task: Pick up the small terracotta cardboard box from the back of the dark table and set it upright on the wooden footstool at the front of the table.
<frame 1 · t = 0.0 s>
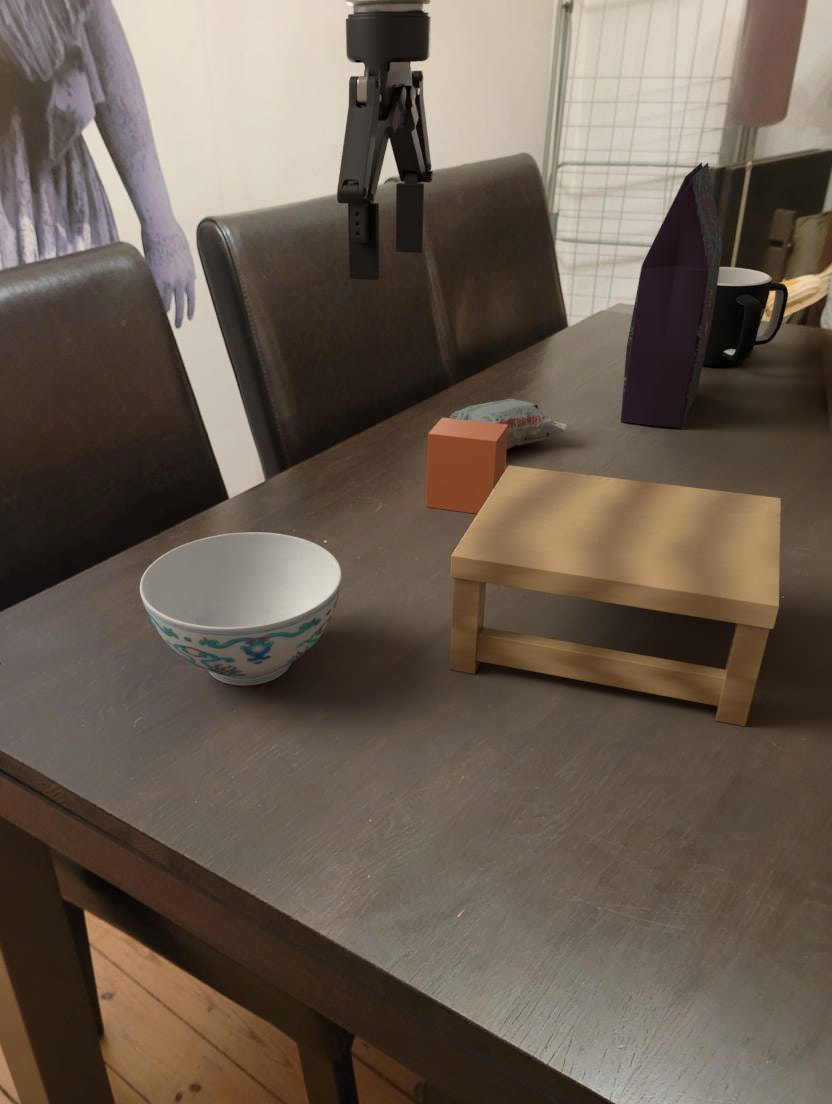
hand: (388, 264, 95), 22 cm above the table, tool pointing down, fingers open, 13 cm apart
small box: (465, 502, 101), on the table
purple coffee bag: (659, 408, 125), on the table
mug: (711, 361, 142), on the table
packaged food: (502, 447, 114), on the table
wooden footstool: (608, 637, 78), on the table
chinaware: (249, 663, 76), on the table
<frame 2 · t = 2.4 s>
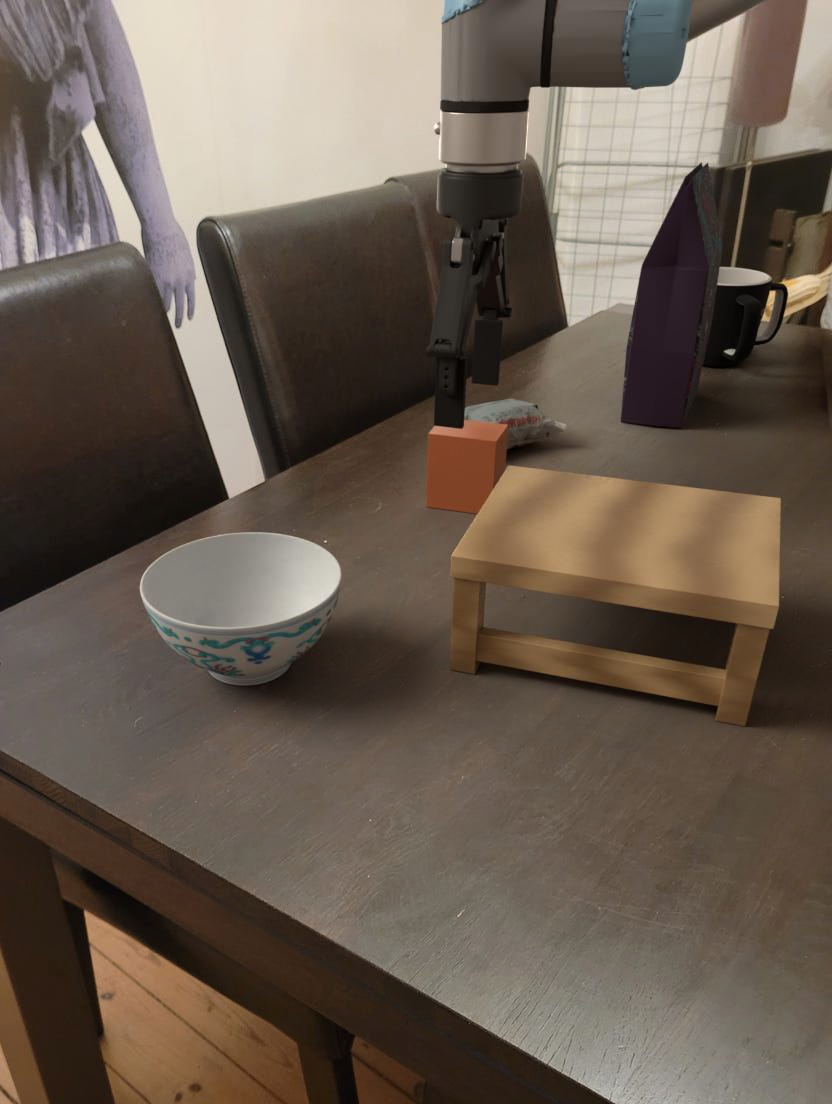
hand: (467, 404, 95), 11 cm above the table, tool pointing down, fingers open, 13 cm apart
nothing on the table moved.
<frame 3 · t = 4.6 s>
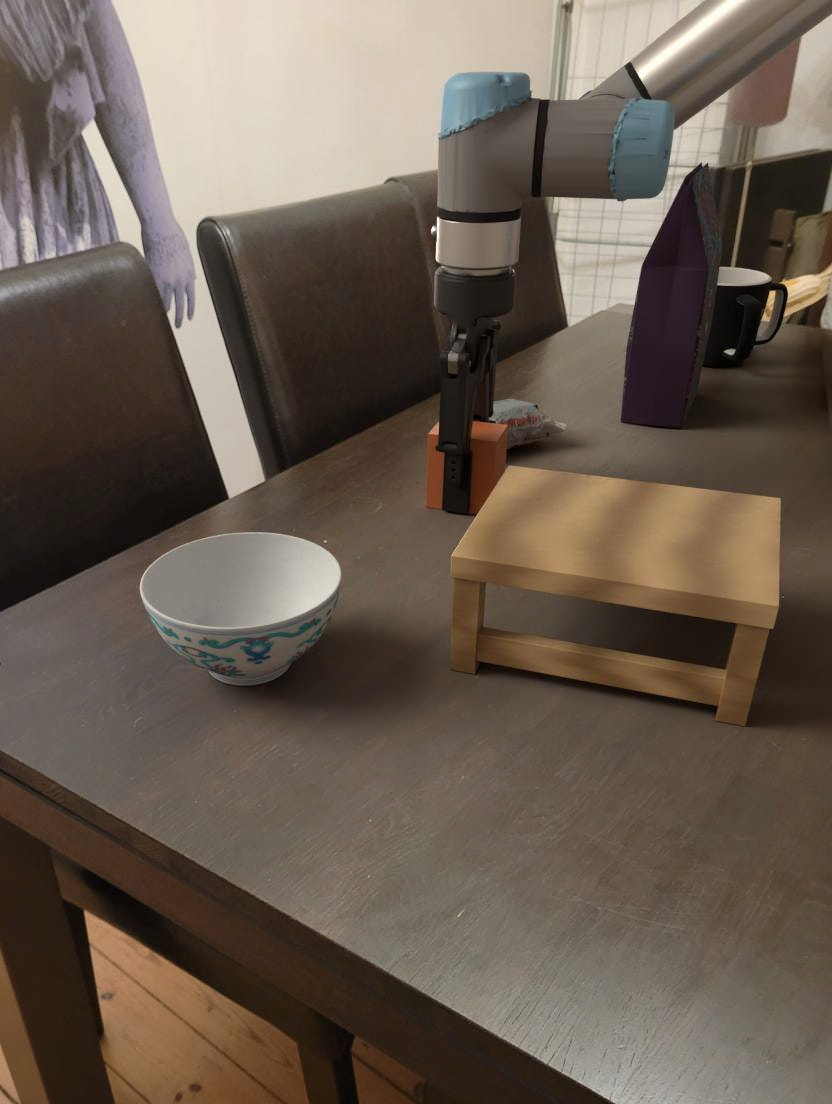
hand: (462, 499, 100), 0 cm above the table, tool pointing down, fingers closed on small box, 5 cm apart
small box: (465, 502, 101), on the table, touching gripper
everything else where it was.
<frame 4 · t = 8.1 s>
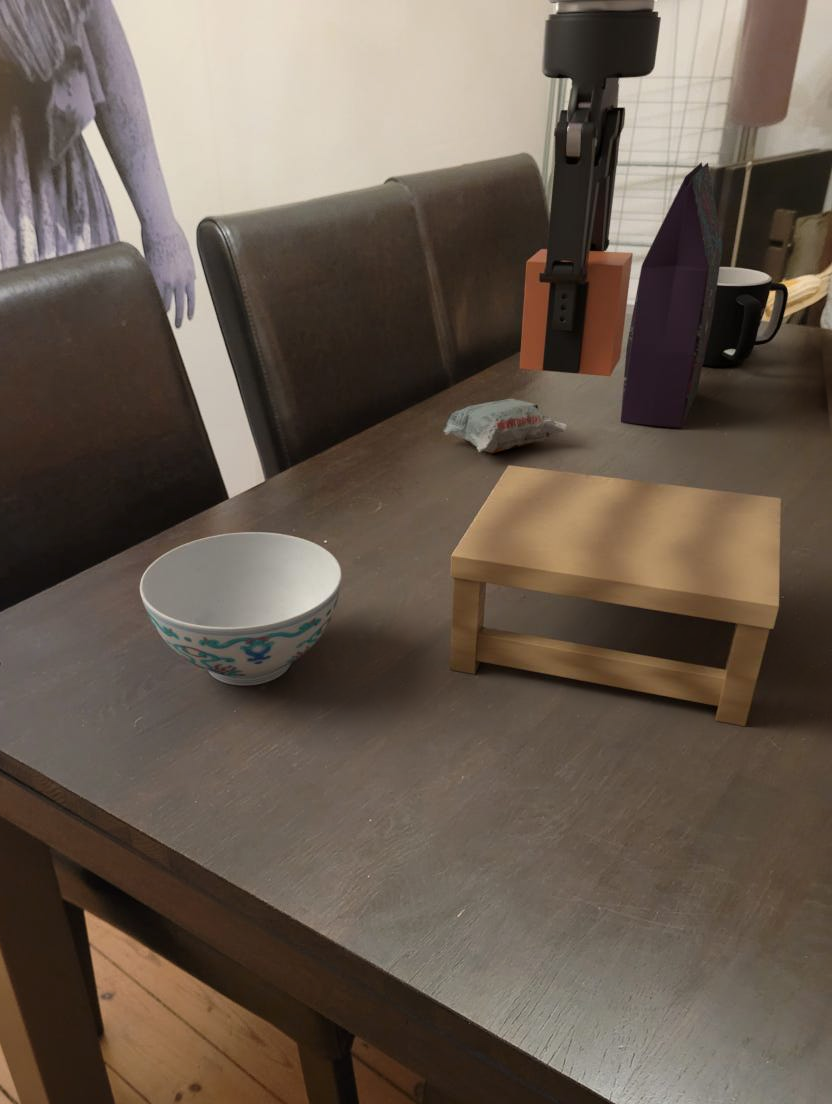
hand: (568, 359, 76), 20 cm above the table, tool pointing down, fingers closed on small box, 5 cm apart
small box: (570, 363, 76), point 19 cm above the table, touching gripper
everything else where it was.
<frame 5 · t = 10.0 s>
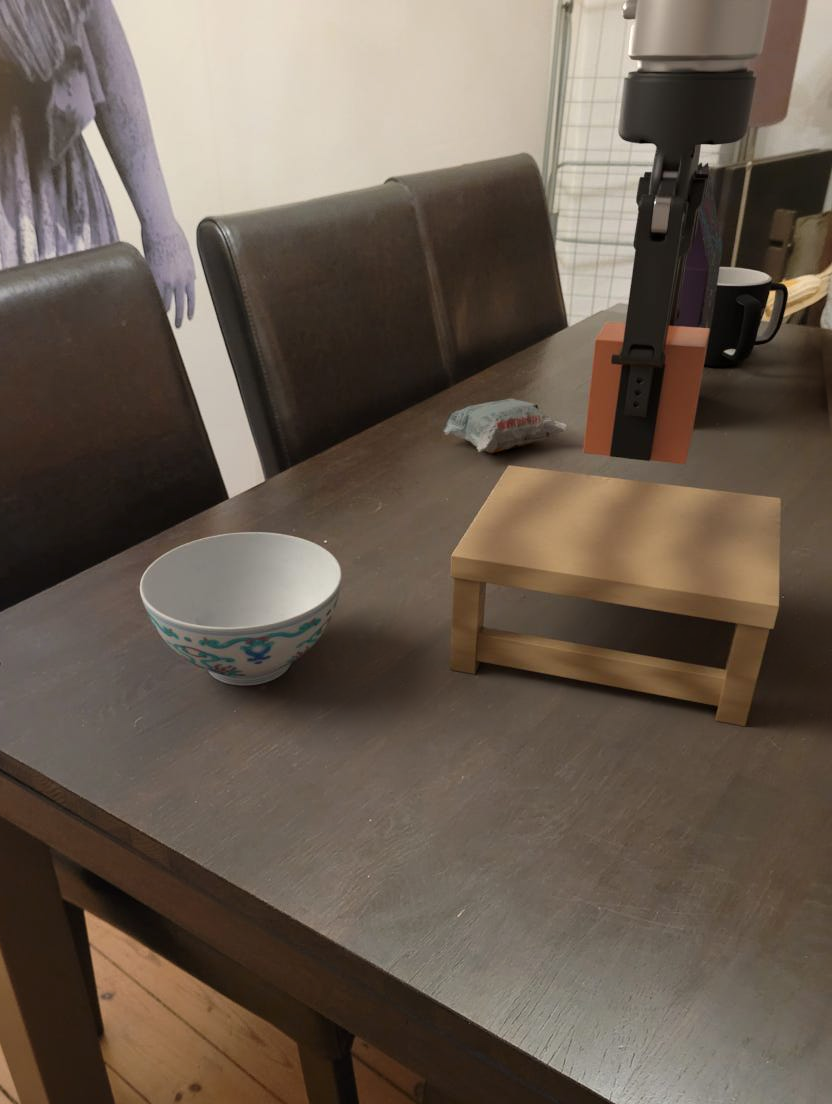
hand: (635, 442, 69), 17 cm above the table, tool pointing down, fingers closed on small box, 5 cm apart
small box: (637, 446, 69), point 16 cm above the table, touching gripper
everything else where it was.
when the fingers open (10 cm above the table, at t = 12.0 s): small box stays where it is, resting on wooden footstool.
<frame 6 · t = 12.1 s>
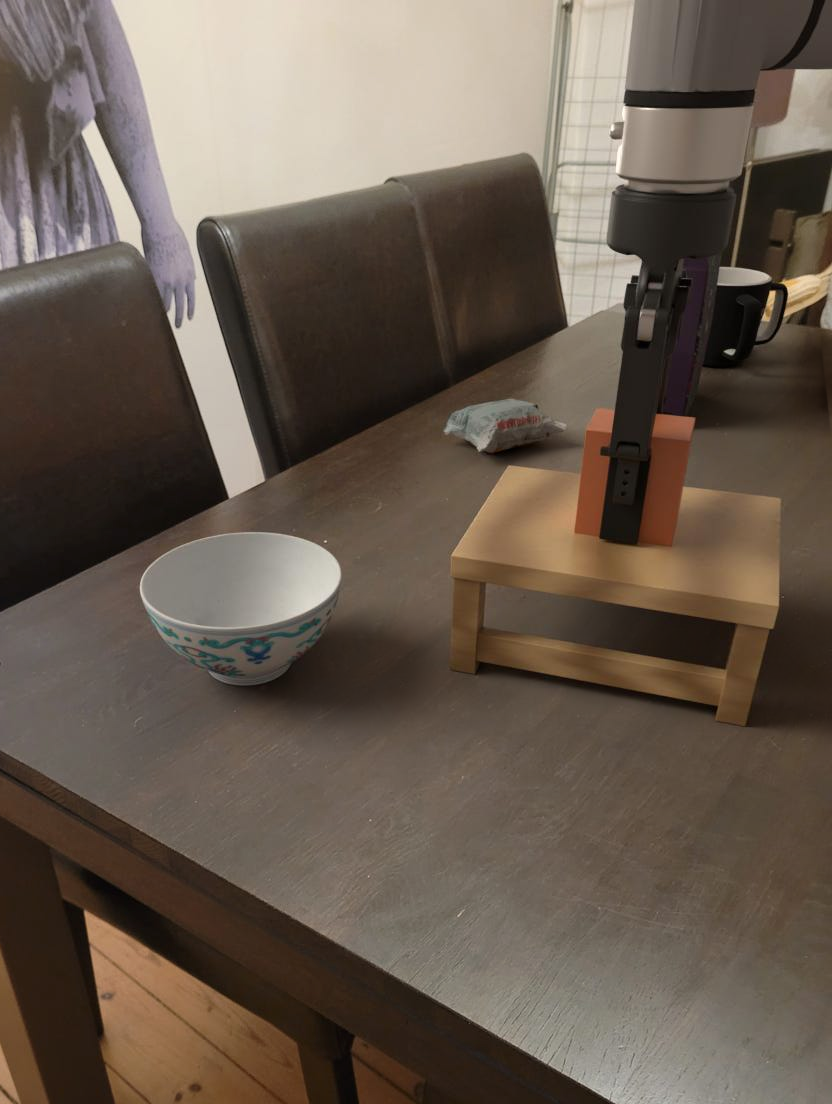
hand: (624, 522, 72), 10 cm above the table, tool pointing down, fingers open, 5 cm apart
small box: (626, 525, 72), point 10 cm above the table, touching wooden footstool
everything else where it was.
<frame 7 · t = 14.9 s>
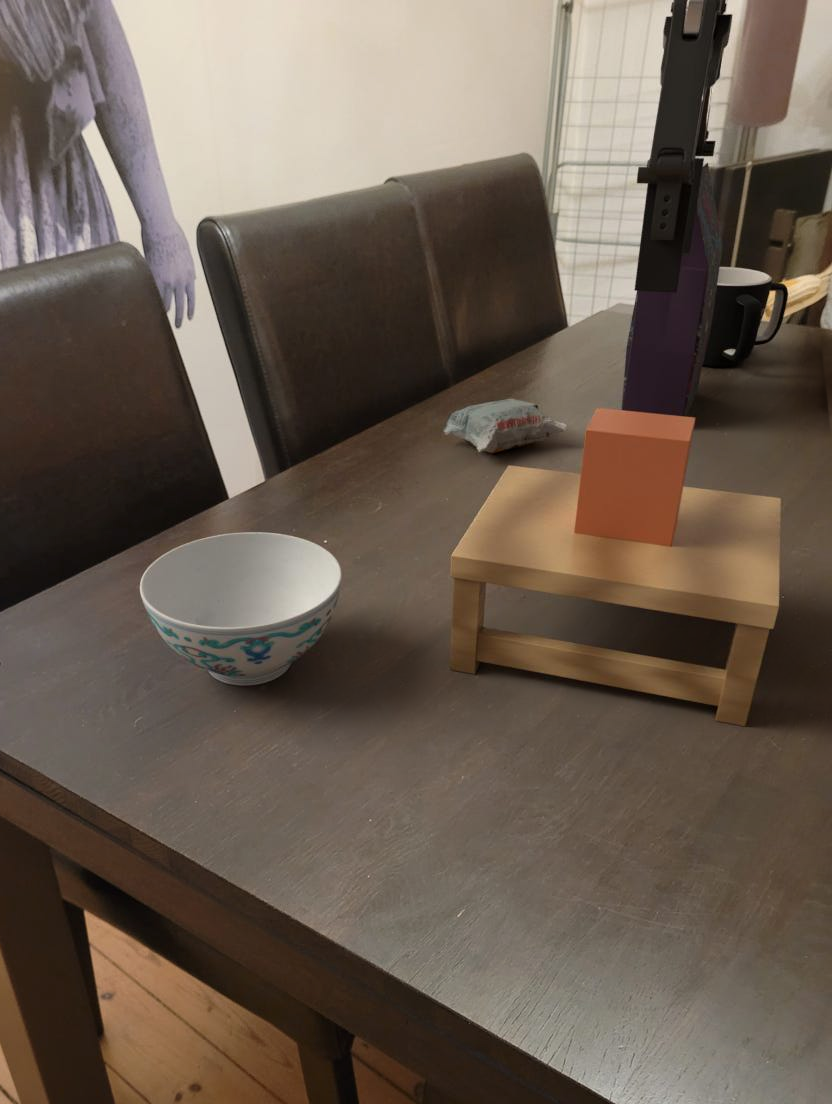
hand: (664, 270, 69), 27 cm above the table, tool pointing down, fingers open, 13 cm apart
nothing on the table moved.
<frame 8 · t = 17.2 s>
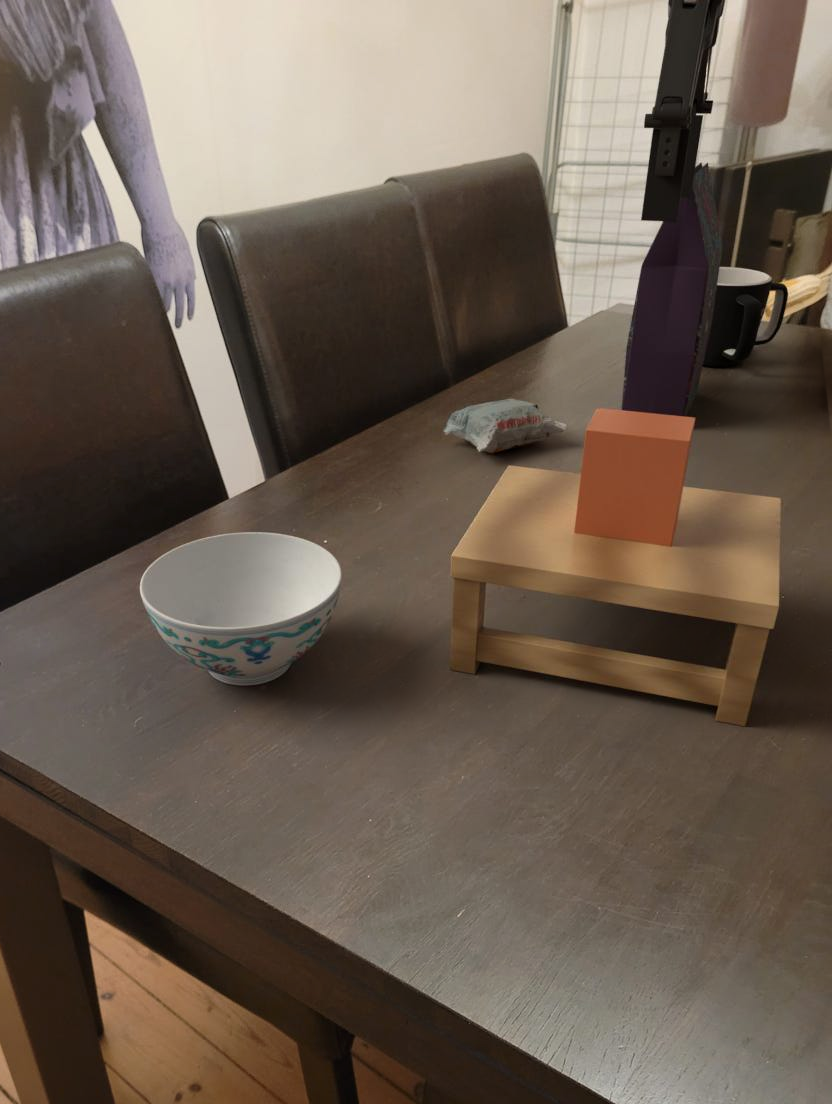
hand: (667, 208, 82), 29 cm above the table, tool pointing down, fingers open, 13 cm apart
nothing on the table moved.
at the end: small box inside the target area on the wooden footstool (0.2 cm from its centre), point 10.0 cm above the wooden footstool's base; small box tilted 0°; the gripper is holding nothing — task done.
